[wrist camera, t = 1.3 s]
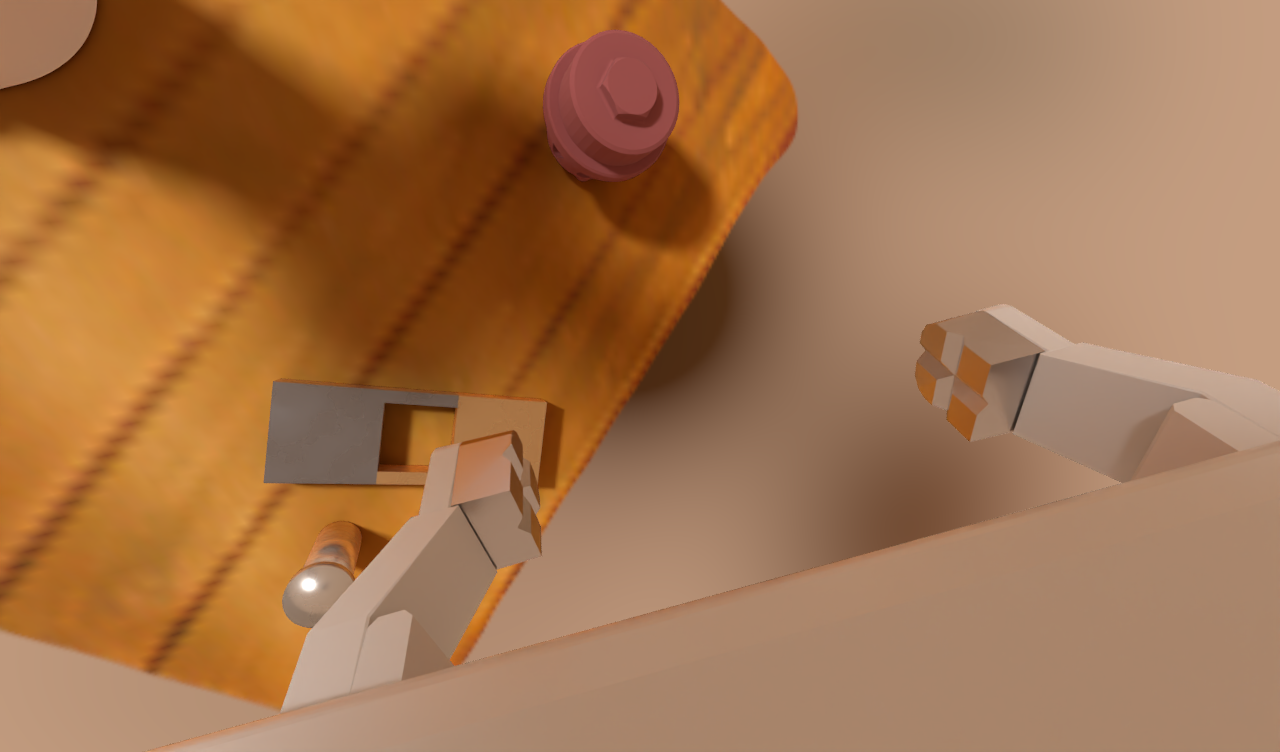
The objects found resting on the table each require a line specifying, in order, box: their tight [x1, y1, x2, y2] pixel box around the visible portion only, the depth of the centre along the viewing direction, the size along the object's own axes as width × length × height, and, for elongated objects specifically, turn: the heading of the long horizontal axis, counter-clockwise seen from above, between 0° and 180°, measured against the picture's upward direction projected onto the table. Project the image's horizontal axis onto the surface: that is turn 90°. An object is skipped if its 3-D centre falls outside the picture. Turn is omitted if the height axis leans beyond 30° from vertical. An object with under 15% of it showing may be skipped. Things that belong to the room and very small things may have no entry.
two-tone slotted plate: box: [264, 379, 547, 485], centre depth 43 cm, size 20×7×2 cm, turn 83°
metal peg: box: [282, 521, 362, 628], centre depth 38 cm, size 4×4×10 cm
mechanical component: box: [543, 30, 679, 182], centre depth 42 cm, size 12×10×10 cm
